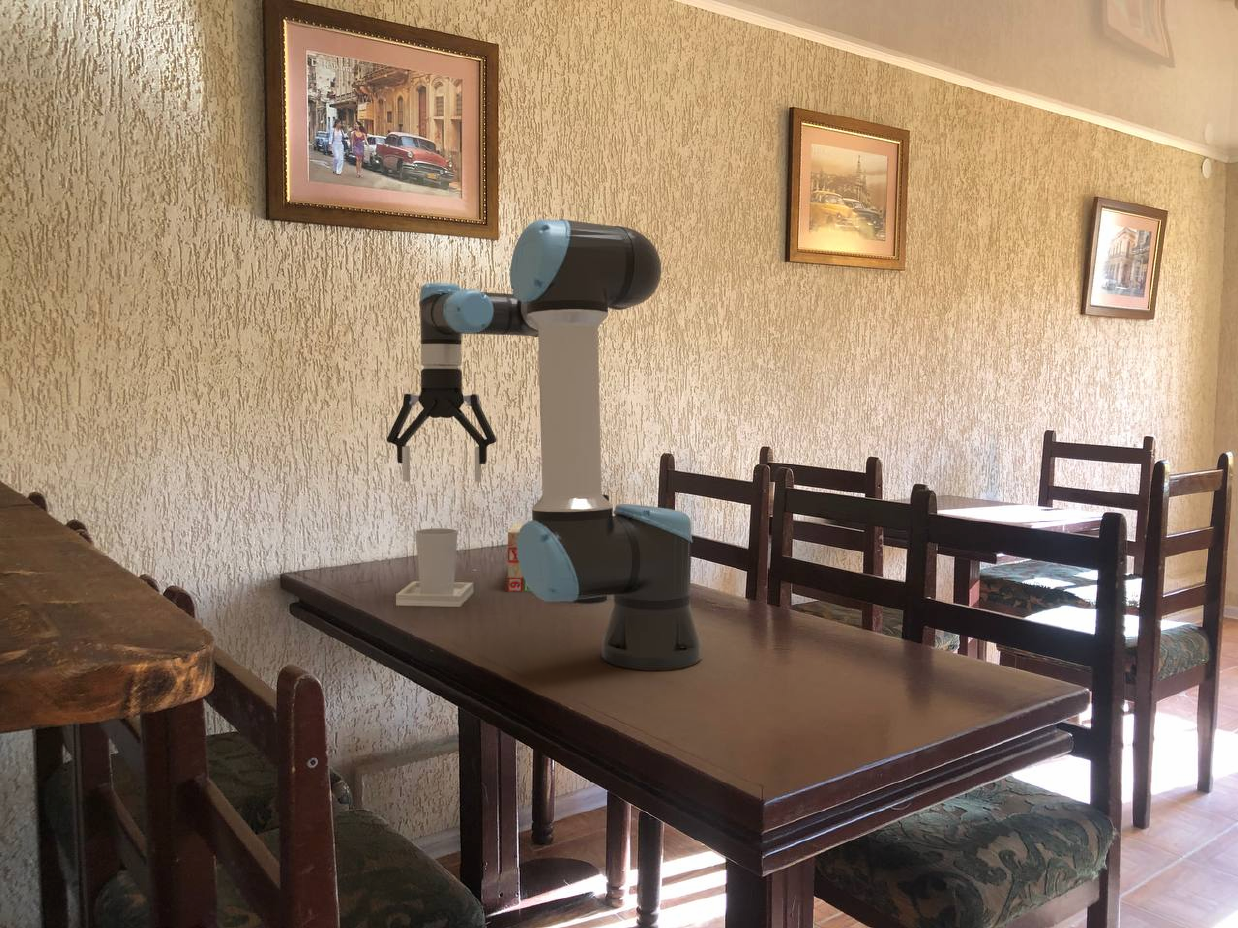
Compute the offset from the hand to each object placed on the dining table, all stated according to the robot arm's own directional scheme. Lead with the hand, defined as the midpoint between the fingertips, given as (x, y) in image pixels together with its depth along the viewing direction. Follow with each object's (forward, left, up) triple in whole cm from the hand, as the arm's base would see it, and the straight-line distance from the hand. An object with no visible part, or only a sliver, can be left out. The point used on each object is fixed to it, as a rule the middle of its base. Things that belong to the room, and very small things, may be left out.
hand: (442, 481), depth 185 cm
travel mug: (+4, -27, -23) cm, 36 cm away
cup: (+1, +1, -22) cm, 22 cm away
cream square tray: (+1, +2, -23) cm, 23 cm away
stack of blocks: (+19, -13, -23) cm, 33 cm away
